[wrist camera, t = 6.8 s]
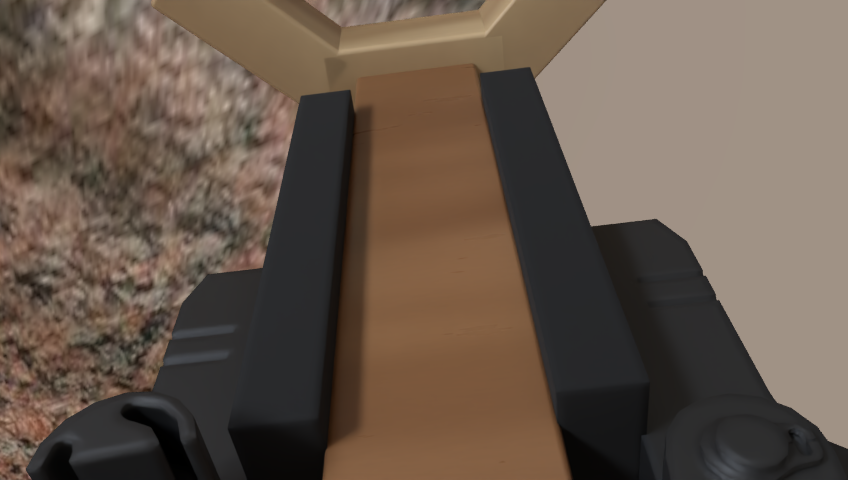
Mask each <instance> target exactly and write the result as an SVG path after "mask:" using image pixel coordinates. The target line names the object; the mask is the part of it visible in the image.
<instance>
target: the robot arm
mask: <svg viewBox="0 0 848 480" xmlns="http://www.w3.org/2000/svg"><path fill="white" fill-rule="evenodd" d="M480 82H481V94H482V100H483V104H484V108H485V113H486V117H487V121H488V126H489V130H490V134H491V139H492V143H493V147H494V152H495V156H496V160H497V165H498V169H499V173H500V178H501V182H502V186H503V191H504V195H505V199H506V204H507V208H508V212H509V216H510V221H511V225H512V229H513V234H514V238H515V242H516V247H517V251H518V255H519V260H520V264H521V268H522V273H523V277H524V281H525V286H526V290H527V294H528V299H529V303H530V307H531V312H532V316H533V320H534V324H535V329H536V333H537V337H538V342H539V346H540V350H541V355H542V359H543V363H544V368H545V372H546V376H547V381H548V385H549V389H550V394H551V398H552V402H553V407H554V411H555V415H556V420H557V424H559V426H560V427H561V430H562V434H563V438H564V442H565V446H566V451H567V455H568V459H569V463H570V468H571V472H572V476H573V480H848V449H846V448H844V447H841V446H839V445H837V444H834V443H832V442H829V441H827V439H826V438H825V437H824V435H823V434H822V432H820V430H819V428H818V427H817V426H815V425H814V424H813V423H811V422H810V421H809V420H807V419H806V418H804V417H803V416H801V415H800V414H799V413H797V412H796V411H795V410H793V409H792V408H789V407H787V406H784V405H782V404H779V403H777V402H776V401H775V400H774V398H773V397H772V395H771V394H770V392H769V391H768V389H767V387H766V385H765V383H764V381H763V379H762V378H761V376H760V374H759V372H758V370H757V369H756V367H755V365H754V363H753V361H752V360H751V358H750V356H749V354H748V352H747V350H746V348H745V347H744V345H743V343H742V341H741V340H740V338H739V336H738V334H737V332H736V330H735V328H734V327H733V325H732V323H731V321H730V319H729V317H728V316H727V314H726V312H725V310H724V308H723V306H722V305H721V303H720V301H719V300H716V294H715V292H714V290H713V288H712V286H711V285H710V283H709V281H708V279H707V277H706V276H703V270H702V268H701V266H700V264H699V263H698V261H697V259H696V257H695V256H694V254H693V252H692V250H691V248H690V246H689V245H688V243H687V241H686V240H684V239H683V238H682V237H680V236H679V235H677V234H676V233H675V232H673V231H672V230H671V229H669V228H668V227H667V226H665V225H664V224H662V223H661V222H660V221H658V220H657V219H652V220H643V221H635V222H627V223H618V224H609V225H601V226H593V227H591V225H590V223H589V220H588V218H587V215H586V212H585V210H584V207H583V204H582V202H581V199H580V197H579V194H578V192H577V189H576V186H575V183H574V181H573V178H572V176H571V173H570V170H569V168H568V165H567V163H566V160H565V157H564V155H563V152H562V150H561V147H560V144H559V141H558V139H557V136H556V134H555V131H554V128H553V126H552V123H551V121H550V118H549V115H548V113H547V110H546V107H545V105H544V102H543V100H542V97H541V94H540V92H539V89H538V86H537V84H536V81H535V79H534V76H533V73H532V71H531V68H530V67H525V68H517V69H509V70H501V71H494V72H486V73H480ZM354 113H355V112H354V106H353V101H352V95H351V90H343V91H335V92H327V93H319V94H311V95H303V96H301V98H300V102H299V107H298V111H297V116H296V121H295V125H294V130H293V134H292V139H291V143H290V148H289V152H288V157H287V161H286V166H285V170H284V175H283V179H282V184H281V188H280V193H279V197H278V202H277V206H276V211H275V215H274V220H273V225H272V229H271V234H270V238H269V243H268V247H267V252H266V256H265V261H264V265H263V268H259V269H251V270H242V271H234V272H225V273H217V274H208V275H207V276H206V277H205V278H204V279H203V281H202V282H201V283H200V284H199V285H198V286H197V287H196V288H195V289H194V291H193V292H192V293H191V294H190V295H189V296H188V297H187V298H186V300H185V301H184V302H183V303H182V306H181V309H180V311H179V314H178V317H177V320H176V323H175V326H174V329H173V332H172V340H170V341H169V344H168V347H167V350H166V352H165V355H164V358H163V362H164V365H163V366H162V367H160V370H159V373H158V376H157V379H156V382H155V385H154V388H153V390H152V392H129V393H124V394H120V395H117V396H114V397H111V398H108V399H104V400H101V401H98V402H95V403H93V404H92V405H90V406H88V407H86V408H85V409H83V410H81V411H80V412H78V413H76V414H74V415H73V416H71V417H69V418H68V419H66V420H65V421H64V422H63V423H62V424H60V425H59V426H58V427H57V428H56V429H55V430H54V431H53V432H52V433H51V434H50V435H49V436H48V437H47V438H46V439H45V440H44V441H43V442H42V443H41V444H40V446H39V447H38V449H37V451H36V452H35V454H34V456H33V458H32V459H31V461H30V463H29V465H28V466H27V468H26V471H27V473H28V474H29V476H30V477H31V479H32V480H322V478H323V467H324V455H325V451H326V449H327V440H328V428H329V416H330V404H331V392H332V379H333V367H334V355H335V343H336V331H337V319H338V307H339V295H340V283H341V271H342V259H343V246H344V234H345V222H346V210H347V198H348V186H349V174H350V162H351V150H352V138H353V126H354Z"/></svg>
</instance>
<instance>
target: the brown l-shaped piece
mask: <svg viewBox="0 0 848 480" xmlns="http://www.w3.org/2000/svg"><path fill="white" fill-rule="evenodd" d="M605 1H606V0H486V1H485V3H484V4H483V5H482V6H481V7H480V9H479V10H474V11H466V12H459V13H451V14H443V15H435V16H428V17H420V18H412V19H404V20H396V21H389V22H381V23H373V24H365V25H358V26H350V27H340V26H339V25H338V24H336V23H335V22H334V21H332V20H331V19H329V18H328V17H327V16H325V15H324V14H322V13H321V12H320V11H318V10H317V9H316V8H314V7H313V6H311V5H310V4H309V3H307V2H306V1H304V0H152V1H151V5H152V7H153V8H154V9H156V10H157V11H159V12H161V13H162V14H164V15H165V16H167V17H168V18H170V19H171V20H173V21H174V22H176V23H177V24H179V25H180V26H182V27H183V28H185V29H186V30H188V31H189V32H191V33H192V34H194V35H195V36H197V37H198V38H200V39H201V40H203V41H204V42H206V43H207V44H209V45H210V46H212V47H214V48H215V49H217V50H218V51H220V52H221V53H223V54H224V55H226V56H227V57H229V58H230V59H232V60H233V61H235V62H236V63H238V64H239V65H241V66H242V67H244V68H245V69H247V70H248V71H250V72H251V73H253V74H254V75H256V76H257V77H259V78H260V79H262V80H263V81H265V82H267V83H268V84H270V85H271V86H273V87H274V88H276V89H277V90H279V91H280V92H282V93H283V94H285V95H286V96H288V97H289V98H291V99H292V100H294V101H295V102H297V103H298V104H299V102H300V98H301V96H303V95H311V94H319V93H327V92H335V91H343V90H351V95H352V101H353V106H354V112H355V113H354V126H353V138H352V150H351V162H350V174H349V186H348V198H347V210H346V222H345V234H344V246H343V259H342V271H341V283H340V295H339V307H338V319H337V331H336V343H335V355H334V367H333V379H332V392H331V404H330V416H329V428H328V440H327V449H326V451H325V455H324V467H323V478H322V480H573V476H572V472H571V468H570V463H569V459H568V455H567V451H566V446H565V442H564V438H563V434H562V430H561V427H560V426H559V424H557V420H556V415H555V411H554V407H553V402H552V398H551V394H550V389H549V385H548V381H547V376H546V372H545V368H544V363H543V359H542V355H541V350H540V346H539V342H538V337H537V333H536V329H535V324H534V320H533V316H532V312H531V307H530V303H529V299H528V294H527V290H526V286H525V281H524V277H523V273H522V268H521V264H520V260H519V255H518V251H517V247H516V242H515V238H514V234H513V229H512V225H511V221H510V216H509V212H508V208H507V204H506V199H505V195H504V191H503V186H502V182H501V178H500V173H499V169H498V165H497V160H496V156H495V152H494V147H493V143H492V139H491V134H490V130H489V126H488V121H487V117H486V113H485V108H484V104H483V100H482V94H481V82H480V73H486V72H494V71H501V70H509V69H517V68H525V67H530V68H531V71H532V73H533V76H534V79H535V78H536V77H537V76H538V75H539V73H540V72H541V71H542V70H543V69H544V68H545V67H546V66H547V65H548V64H549V63H550V61H551V60H552V59H553V58H554V57H555V56H556V55H557V54H558V53H559V51H561V49H562V48H563V47H564V46H565V45H566V44H567V43H568V42H569V41H570V40H571V38H572V37H573V36H574V35H575V34H576V33H577V32H578V30H580V28H581V27H582V26H583V25H584V24H585V23H586V22H587V21H588V20H589V19H590V18H591V16H592V15H593V14H594V13H595V12H596V11H597V10H598V9H599V8H600V6H602V4H603V3H604V2H605Z"/></svg>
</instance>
